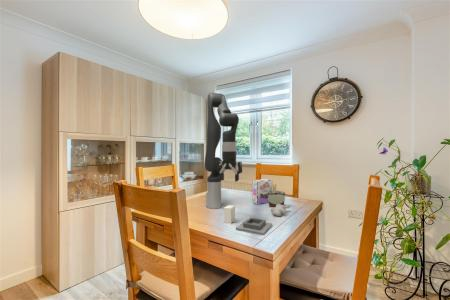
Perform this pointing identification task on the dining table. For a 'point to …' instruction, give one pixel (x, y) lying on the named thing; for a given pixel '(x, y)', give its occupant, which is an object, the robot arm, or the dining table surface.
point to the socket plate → (254, 226)
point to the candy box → (261, 191)
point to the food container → (276, 198)
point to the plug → (229, 214)
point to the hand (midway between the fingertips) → (229, 180)
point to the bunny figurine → (279, 210)
